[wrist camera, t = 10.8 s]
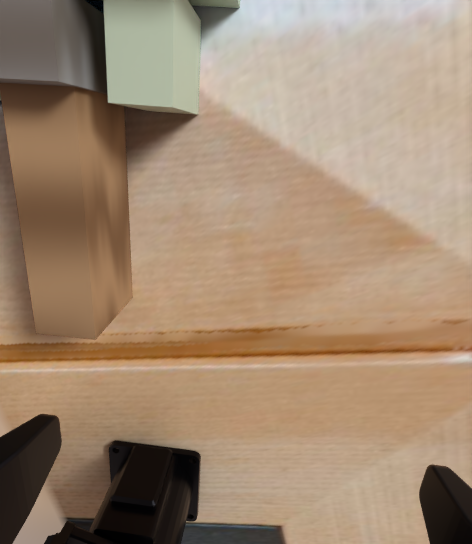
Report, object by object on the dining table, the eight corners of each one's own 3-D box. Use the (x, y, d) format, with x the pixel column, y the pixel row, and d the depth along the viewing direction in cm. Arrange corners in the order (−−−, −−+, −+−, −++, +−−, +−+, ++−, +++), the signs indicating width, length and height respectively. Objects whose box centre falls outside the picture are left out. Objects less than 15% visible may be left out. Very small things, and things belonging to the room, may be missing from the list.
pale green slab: (232, 117, 18) (210, 106, 12) (-33, 97, 19) (-189, 78, 13) (241, -25, 16) (219, -131, 10) (-56, -38, 17) (-255, -144, 11)
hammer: (136, 297, 23) (85, 357, 16) (80, 292, 23) (10, 349, 17) (126, 30, 18) (48, -26, 12) (55, 27, 18) (-58, -30, 12)
